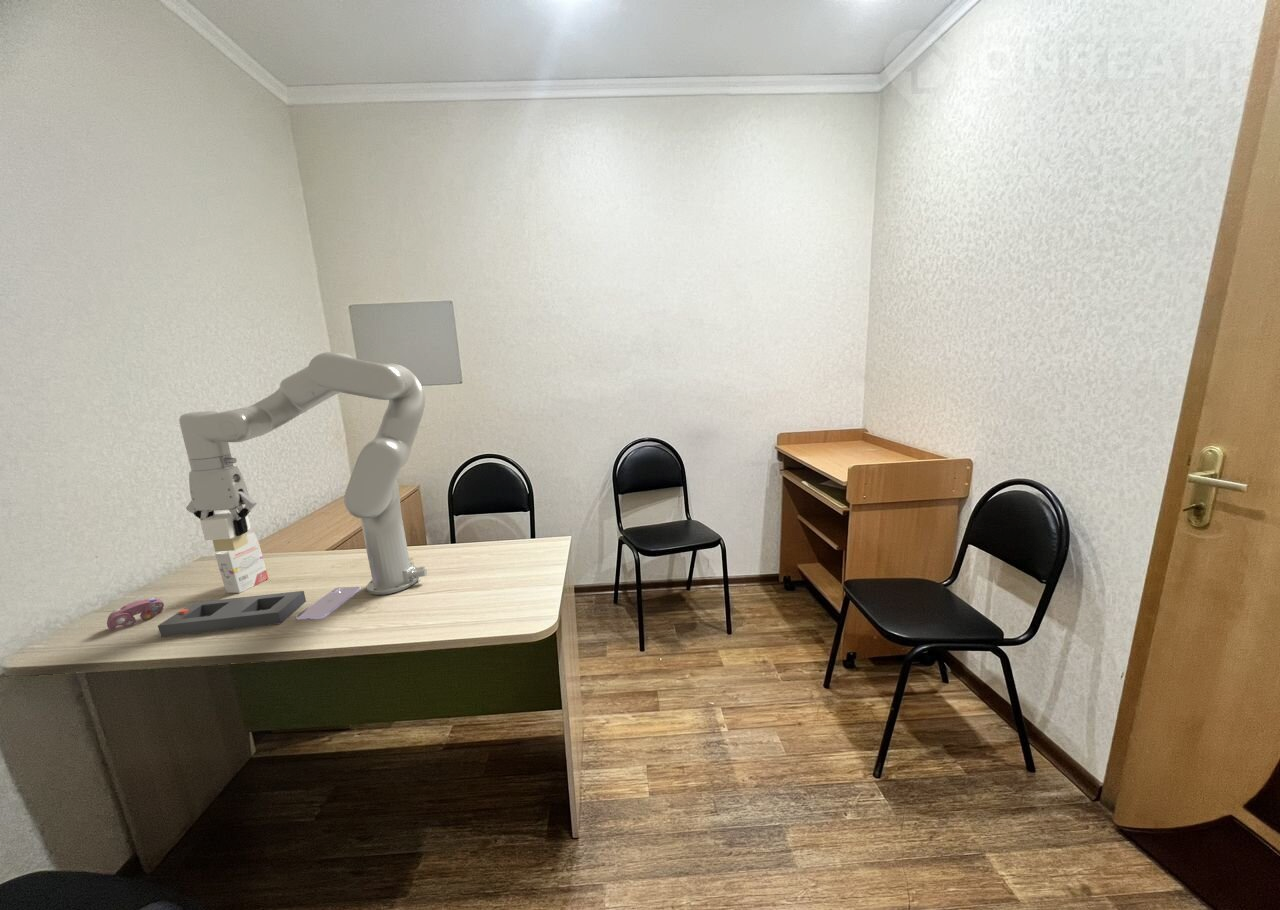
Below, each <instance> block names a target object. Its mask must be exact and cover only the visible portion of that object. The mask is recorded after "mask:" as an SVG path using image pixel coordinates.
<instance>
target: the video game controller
mask: <svg viewBox="0 0 1280 910" xmlns="http://www.w3.org/2000/svg"><path fill="white" fill-rule="evenodd" d="M164 607H165V603H164V601H163V600H161V599H160V598H157V597H149V598H148V599H141V600H136V601H132V602H130V603H127V604H125V605H123V606H122V607H120V608H116V609H114V610H113V611H112V612H110V614H109V615H108V616H107V620H106V626H107V628H108V629H109V630H111V631H112V630H115V629H116V628H117V627H119V626H121V627H124V628H129V627H132V626H134V625H135V624H136V622H137V620H136V618H135V616H136V615H139V617H140V619H141V620H142V621H148V620H151V619H152V618H154V616H155V615H156V613H158V614H159V613H162V612H163V610H164Z"/></svg>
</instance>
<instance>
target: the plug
mask: <svg viewBox="0 0 1280 910" xmlns="http://www.w3.org/2000/svg"><path fill="white" fill-rule="evenodd" d="M236 510H237V509H236ZM237 511H238V510H237ZM238 513H239V512H238ZM245 518H246V523H247V527H248V530H250V529H251V528H252V526H251V523H250V519H249V515H248V516H246V517H245ZM234 520H235V519H234V517H233V516H232V514H231V512H230V511H229V510H221V511H219V512H218V513H215V515H212V516H210V517H208V518H205V519H203V520H201V521H199V522H200V526H201V530H202V534H203V538H204V541H212V544H213V548H214V552H216V553H218V552H221V551H233V550H236V549H238V548H240V547H242V546H244V545H246V544H247V538H246V535H247V534H246V533H244V534H242V535H240V536H236V532H235V528H234V524H233V521H234Z"/></svg>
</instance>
